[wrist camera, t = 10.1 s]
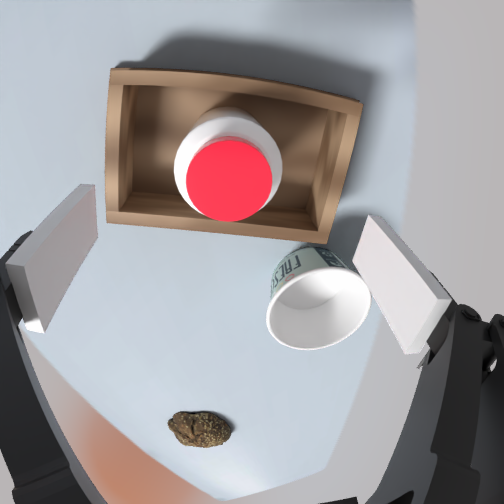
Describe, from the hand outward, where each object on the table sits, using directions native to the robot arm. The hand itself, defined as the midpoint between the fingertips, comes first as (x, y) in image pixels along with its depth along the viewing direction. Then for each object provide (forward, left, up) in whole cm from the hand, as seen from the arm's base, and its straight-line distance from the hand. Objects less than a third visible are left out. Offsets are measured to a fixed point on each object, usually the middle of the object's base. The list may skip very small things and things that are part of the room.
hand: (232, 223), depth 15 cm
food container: (+15, +12, -18) cm, 27 cm away
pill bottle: (0, 0, -17) cm, 17 cm away
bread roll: (+53, 0, -19) cm, 57 cm away
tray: (0, 0, -18) cm, 18 cm away
